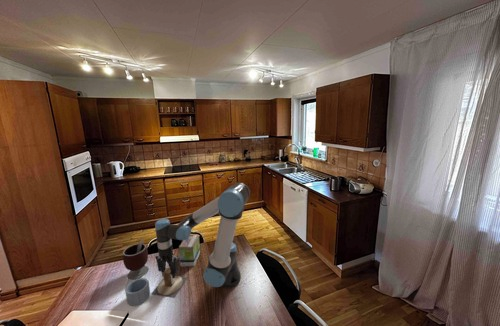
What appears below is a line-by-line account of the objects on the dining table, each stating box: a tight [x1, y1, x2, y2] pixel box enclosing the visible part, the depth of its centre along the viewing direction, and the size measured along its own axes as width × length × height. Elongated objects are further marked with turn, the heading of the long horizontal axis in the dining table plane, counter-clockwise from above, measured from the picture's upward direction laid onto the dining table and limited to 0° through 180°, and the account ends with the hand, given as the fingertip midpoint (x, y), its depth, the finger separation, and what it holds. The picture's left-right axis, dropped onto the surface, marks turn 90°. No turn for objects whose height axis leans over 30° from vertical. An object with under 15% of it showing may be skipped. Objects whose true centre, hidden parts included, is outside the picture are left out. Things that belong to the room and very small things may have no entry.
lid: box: [156, 267, 183, 295], centre depth 119 cm, size 14×14×10 cm
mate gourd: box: [122, 237, 150, 281], centre depth 131 cm, size 16×14×20 cm
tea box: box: [178, 234, 201, 267], centre depth 142 cm, size 15×10×15 cm, turn 179°
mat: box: [150, 276, 189, 299], centre depth 120 cm, size 15×15×1 cm
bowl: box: [124, 277, 151, 307], centre depth 112 cm, size 11×11×8 cm
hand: (169, 281), depth 120 cm, fingers closed on lid, 4 cm apart
